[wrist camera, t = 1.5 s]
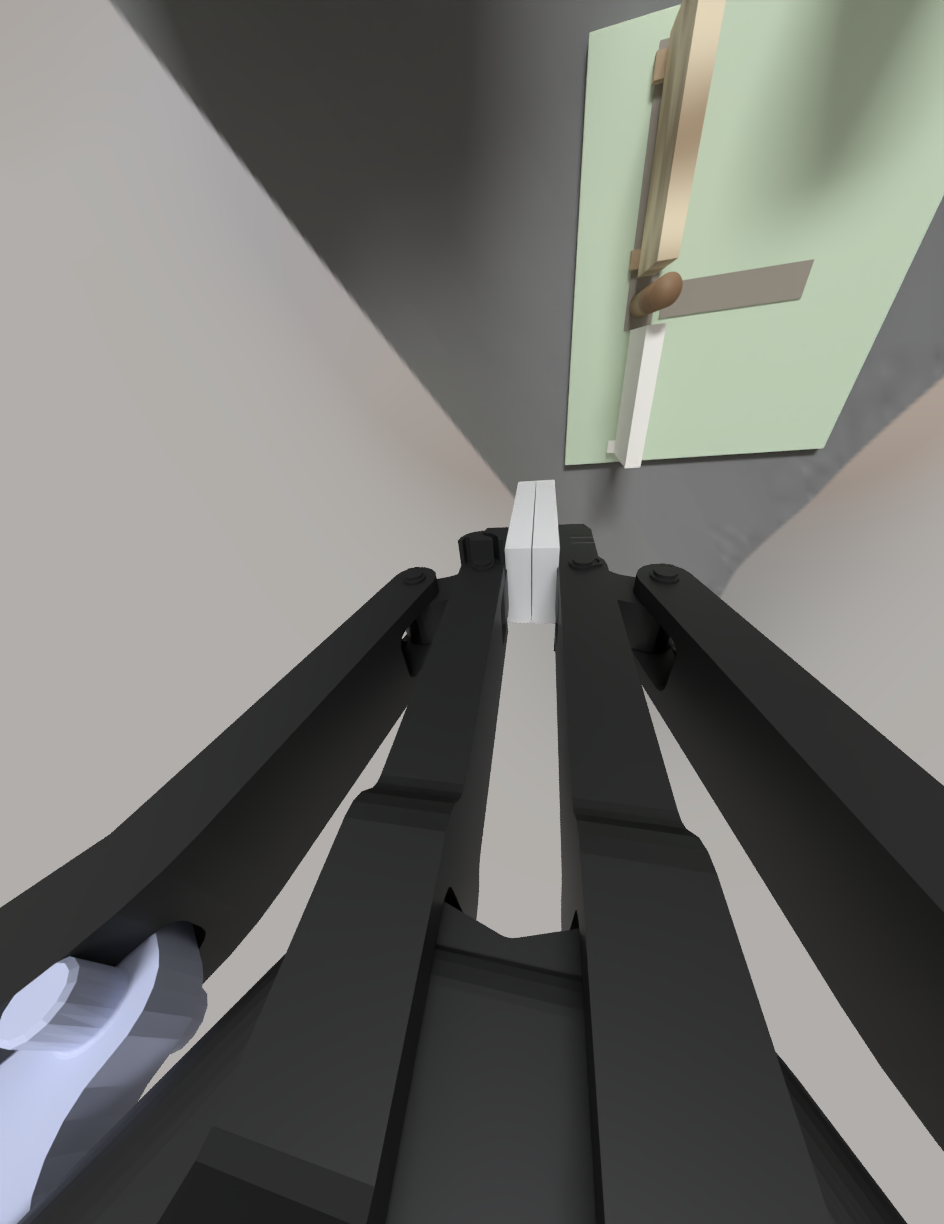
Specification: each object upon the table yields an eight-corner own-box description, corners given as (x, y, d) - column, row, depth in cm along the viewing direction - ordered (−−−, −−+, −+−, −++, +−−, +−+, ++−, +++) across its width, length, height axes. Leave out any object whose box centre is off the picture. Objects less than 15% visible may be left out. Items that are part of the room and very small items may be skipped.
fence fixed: (653, 49, 20) (703, -90, 14) (698, 36, 19) (771, -114, 13) (620, 320, 27) (643, 310, 21) (652, 316, 27) (686, 304, 20)
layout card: (588, 39, 20) (589, 31, 20) (1078, -110, 16) (1097, -127, 15) (564, 463, 34) (565, 465, 34) (818, 446, 30) (824, 448, 29)
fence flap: (621, 331, 27) (637, 326, 22) (653, 327, 27) (677, 321, 22) (606, 452, 32) (616, 468, 28) (633, 450, 32) (648, 466, 27)
